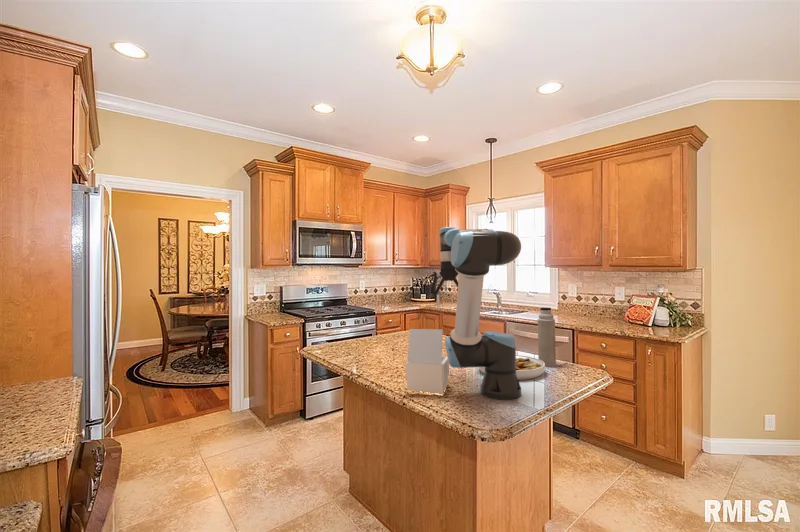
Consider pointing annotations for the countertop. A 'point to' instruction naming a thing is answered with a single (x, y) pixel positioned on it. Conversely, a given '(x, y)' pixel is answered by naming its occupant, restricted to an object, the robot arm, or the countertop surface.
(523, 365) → the bowl
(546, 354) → the thermos bottle
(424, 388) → the white carton
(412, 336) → the carton flap
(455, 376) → the countertop surface
